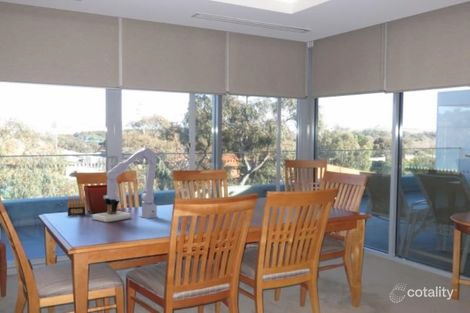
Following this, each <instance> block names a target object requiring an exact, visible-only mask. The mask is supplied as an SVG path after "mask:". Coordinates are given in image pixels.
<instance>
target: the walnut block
mask: <svg viewBox="0 0 470 313" xmlns="http://www.w3.org/2000/svg"><path fill="white" fill-rule="evenodd" d="M117 211H118V209H116V212H112V205H111V204H107V212H106V213H107V214H109V215H114V214H117Z"/></svg>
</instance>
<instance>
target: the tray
mask: <svg viewBox="0 0 470 313" xmlns="http://www.w3.org/2000/svg"><path fill="white" fill-rule="evenodd" d="M131 217H132V213H129V212H124V211H119V210H117V214H114V215H109V214H107V212H99V213H95V214H93V213H92V220H94V221H99V222H103V223H109V222H110V223H111V222H116V221H122V220H129V219H131Z"/></svg>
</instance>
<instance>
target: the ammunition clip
mask: <svg viewBox="0 0 470 313" xmlns="http://www.w3.org/2000/svg"><path fill="white" fill-rule="evenodd" d="M85 215H86V197H85V195H83V196H77V197H76V196H74V198H73V196H71V197H70V196H69V197H68V199H67V216H85Z"/></svg>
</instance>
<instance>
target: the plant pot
mask: <svg viewBox="0 0 470 313" xmlns="http://www.w3.org/2000/svg"><path fill="white" fill-rule="evenodd" d="M83 192H84V198H85V202H86V204H87V207H88V211H90V212H91V213H107V206H106V203H105V201H104V200H106V199H104V196H105V195H107V184H91V185H83Z"/></svg>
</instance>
